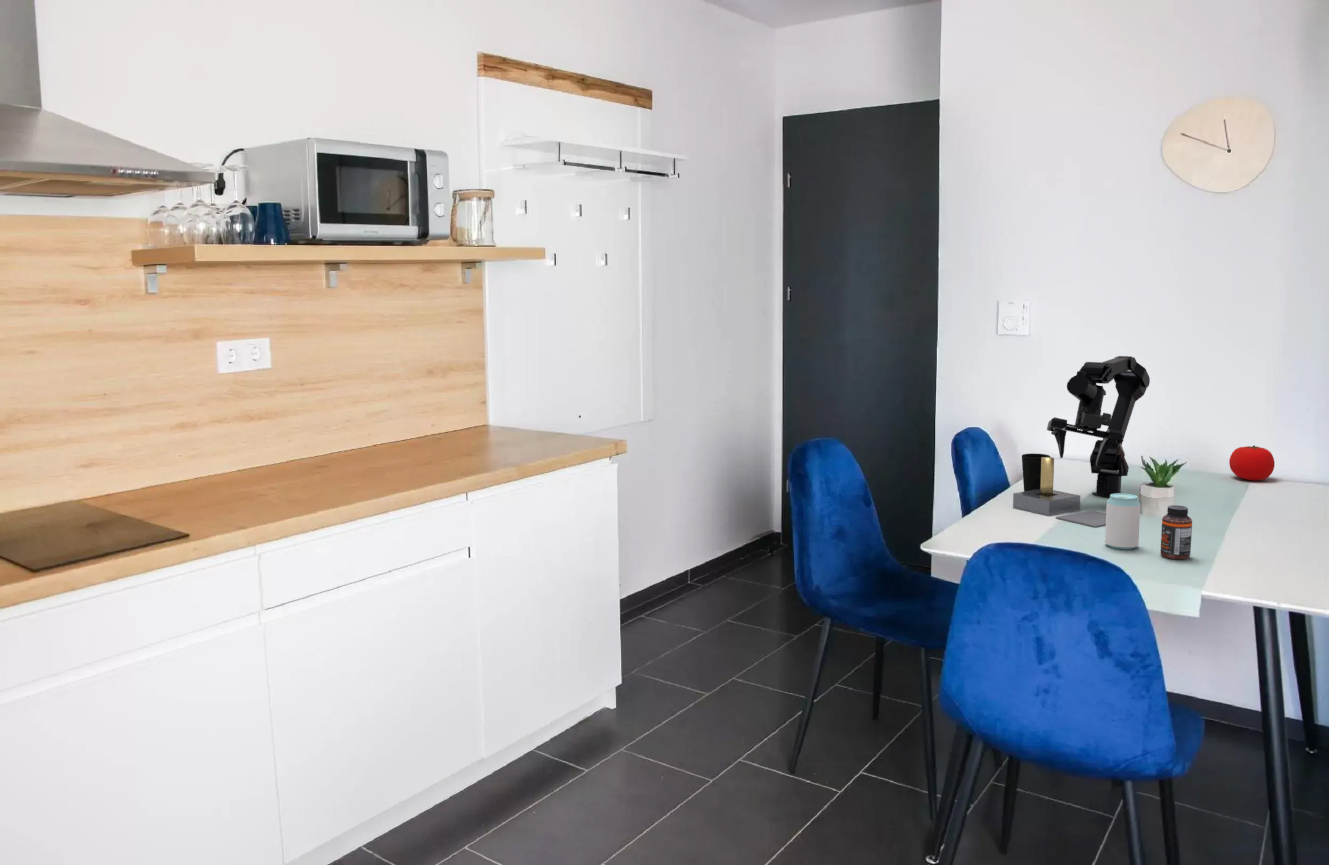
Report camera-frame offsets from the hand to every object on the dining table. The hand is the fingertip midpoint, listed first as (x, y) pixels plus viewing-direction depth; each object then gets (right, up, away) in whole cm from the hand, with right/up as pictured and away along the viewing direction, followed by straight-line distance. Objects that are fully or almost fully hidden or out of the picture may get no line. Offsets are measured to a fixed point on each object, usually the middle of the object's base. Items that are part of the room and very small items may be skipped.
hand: (1079, 461), depth 268 cm
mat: (-1, -15, -12) cm, 19 cm away
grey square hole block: (-8, -13, +1) cm, 15 cm away
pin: (-8, -13, +1) cm, 15 cm away
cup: (-6, -11, +16) cm, 21 cm away
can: (-6, -19, -38) cm, 43 cm away
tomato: (+66, -7, +33) cm, 74 cm away
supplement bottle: (+1, -20, -47) cm, 51 cm away
